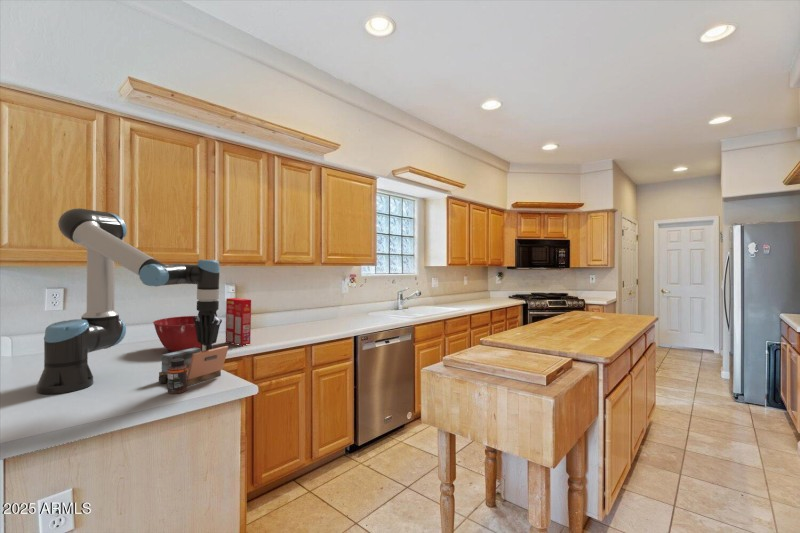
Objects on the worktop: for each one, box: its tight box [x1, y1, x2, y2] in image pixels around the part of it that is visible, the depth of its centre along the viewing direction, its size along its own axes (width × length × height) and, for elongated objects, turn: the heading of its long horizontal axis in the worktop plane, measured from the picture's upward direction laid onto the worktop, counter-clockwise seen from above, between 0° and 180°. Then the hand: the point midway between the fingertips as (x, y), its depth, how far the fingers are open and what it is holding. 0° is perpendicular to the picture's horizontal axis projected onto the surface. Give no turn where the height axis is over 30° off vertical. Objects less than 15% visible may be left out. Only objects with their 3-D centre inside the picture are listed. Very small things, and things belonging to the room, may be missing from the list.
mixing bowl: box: [152, 315, 202, 353], centre depth 194 cm, size 28×28×15 cm
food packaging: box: [225, 297, 252, 346], centre depth 210 cm, size 15×5×25 cm, turn 58°
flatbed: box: [158, 348, 222, 387], centre depth 148 cm, size 19×14×10 cm
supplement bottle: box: [167, 358, 188, 395], centre depth 133 cm, size 6×6×11 cm
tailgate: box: [187, 345, 229, 380], centre depth 144 cm, size 15×2×10 cm, turn 156°
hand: (206, 361), depth 144 cm, fingers closed
